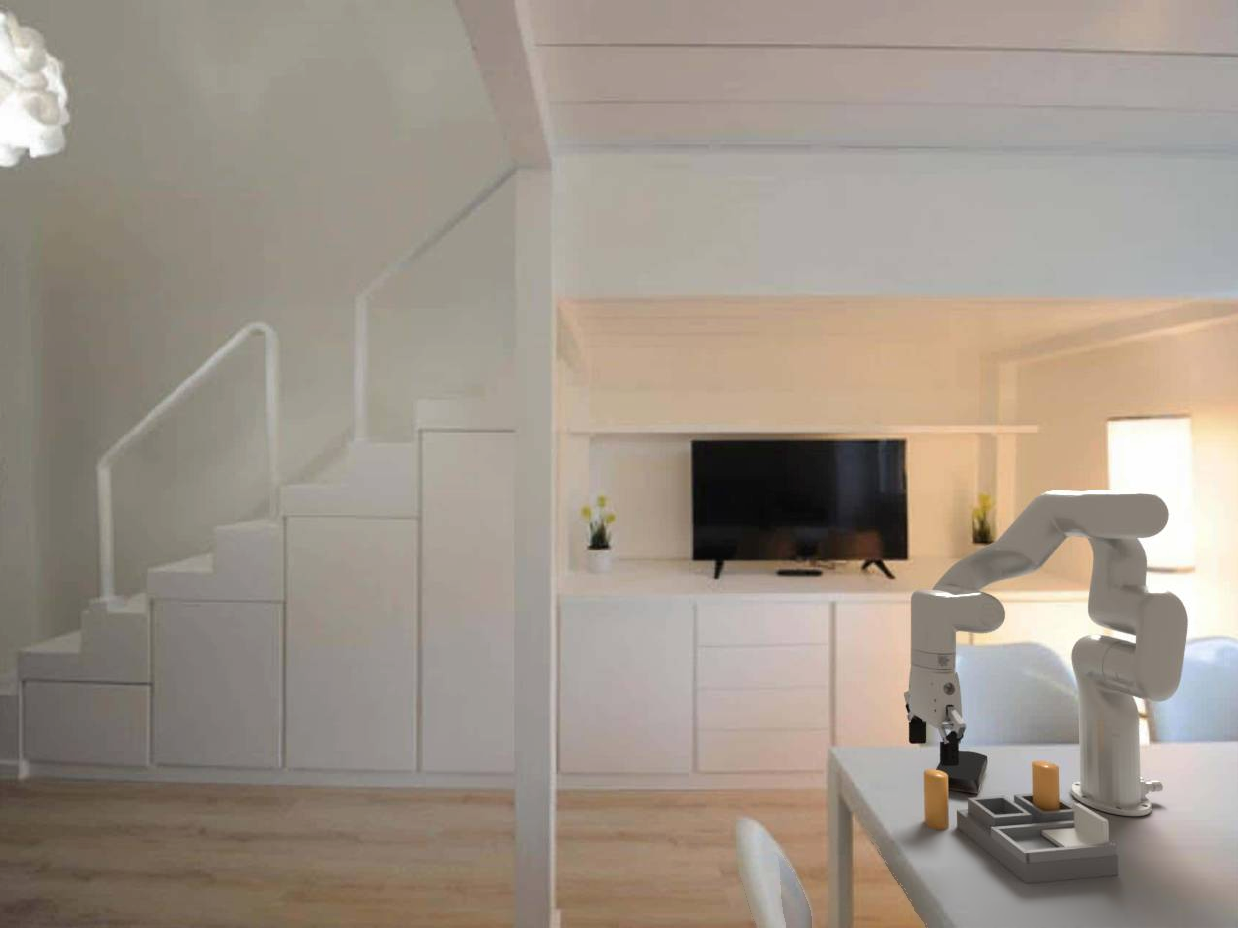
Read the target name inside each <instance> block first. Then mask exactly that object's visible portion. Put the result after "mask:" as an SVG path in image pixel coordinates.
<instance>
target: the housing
mask: <svg viewBox="0 0 1238 928" xmlns="http://www.w3.org/2000/svg"><path fill="white" fill-rule="evenodd" d="M1031 768H1032V769H1031V771H1032V772H1031V773H1032V774H1031V778H1032V779H1031V780H1032V782H1031V783H1032V792H1031V793H1019V794H1013V800H1011V798H1008V797H1007V796H1005V795H989V796H976V797H967V808H966V809H957V810H956V827H957V828H958V829H959V830H960V831H962V832H963V834H965V835H966V836H968V838H969V839H972V841H974V842H975V843H976V844H978V846H980V847H981V848H982V849H984V850H985V851H986V853H988V854H989V855H990V856H992V857H993V858H994V859H995V860H997V861H998V862H999V863H1000V864H1002V865H1003V866H1004V867H1005V868H1007V869H1008V870H1009V871H1010V872H1011V873H1013V874H1014V876H1016V877H1018V879H1020V880H1021V881H1022V882H1023V883H1025V884H1033V883H1035V884H1036V883H1045V882H1047V883H1048V882H1055V881H1057V882H1058V881H1063V880H1064V881H1067V880H1068V881H1069V880H1076V879H1077V880H1078V879H1086V878H1087V879H1088V878H1099V877H1100V878H1101V877H1108V876H1119V855H1118V854H1117V845H1116V844H1115V843H1114V842H1109V843H1103V844H1092V845H1081V846H1069V847H1059V846H1057V845H1056V844H1055V843H1053V842H1052V841H1050V840H1049V839H1047V838H1046V837H1045V836H1043V835H1042V830H1052V829H1064V828H1074V805H1071V804H1070V803H1068V802H1067V801H1065V800H1064V799H1061V798H1060V768H1059V766H1058V765H1057V764H1055V763H1053V762H1051V761H1046V760H1033V761H1032V762H1031Z"/></svg>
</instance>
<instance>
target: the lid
mask: <svg viewBox="0 0 1238 928" xmlns="http://www.w3.org/2000/svg"><path fill="white" fill-rule="evenodd" d="M1073 807H1074V828H1064V829H1052V830H1042V835H1043V836H1045V837H1046V838H1047V839H1049V840H1050V841H1052V842H1053V843H1055V844H1056V845H1057V846H1059V847H1069V846H1081V845H1092V844H1103V843H1110V836H1109V835H1110V831H1109V830H1110V827H1109V820H1108V819H1107V818H1105V817H1103V816H1101V815H1100V814H1098V813H1097V812H1094V810H1091V809H1090V808H1088V807H1087V806H1086V805H1085V806H1084V804H1081V802H1079V803H1078V802H1077V803H1073Z"/></svg>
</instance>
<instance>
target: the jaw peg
mask: <svg viewBox="0 0 1238 928" xmlns="http://www.w3.org/2000/svg"><path fill="white" fill-rule="evenodd" d="M923 800H924V801H923V806H924V810H923V812H924V815H923V816H924V824H925V826H927V827H929V828H931V829H934V830H939V831H940V830H943V831H944V830H945V831H946V830H948V829H949V828H950V816H949V812H950V811H949V789H948V775H947V774H946V773H945V772H942V771H939V770H936V769H935V768H929V769H925V770H924V771H923Z"/></svg>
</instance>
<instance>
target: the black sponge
mask: <svg viewBox="0 0 1238 928" xmlns="http://www.w3.org/2000/svg"><path fill="white" fill-rule="evenodd" d="M935 770H939V771H942V772H945V773H946V774H947V775H948V790H952V791H958V792H959V791H960V792H964V793H970V794H977V793H979V792H980V789H981V787H982V783H983V780H984V778H985V775H986V772H987V770H988V756H987V755H986V754H982V753H981V752H976V751H970V750H966V751H965V750H959V764H958V765H956V766H942V765H941V764H940V762H939V763H938V765H937V766H936V768H935Z"/></svg>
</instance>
